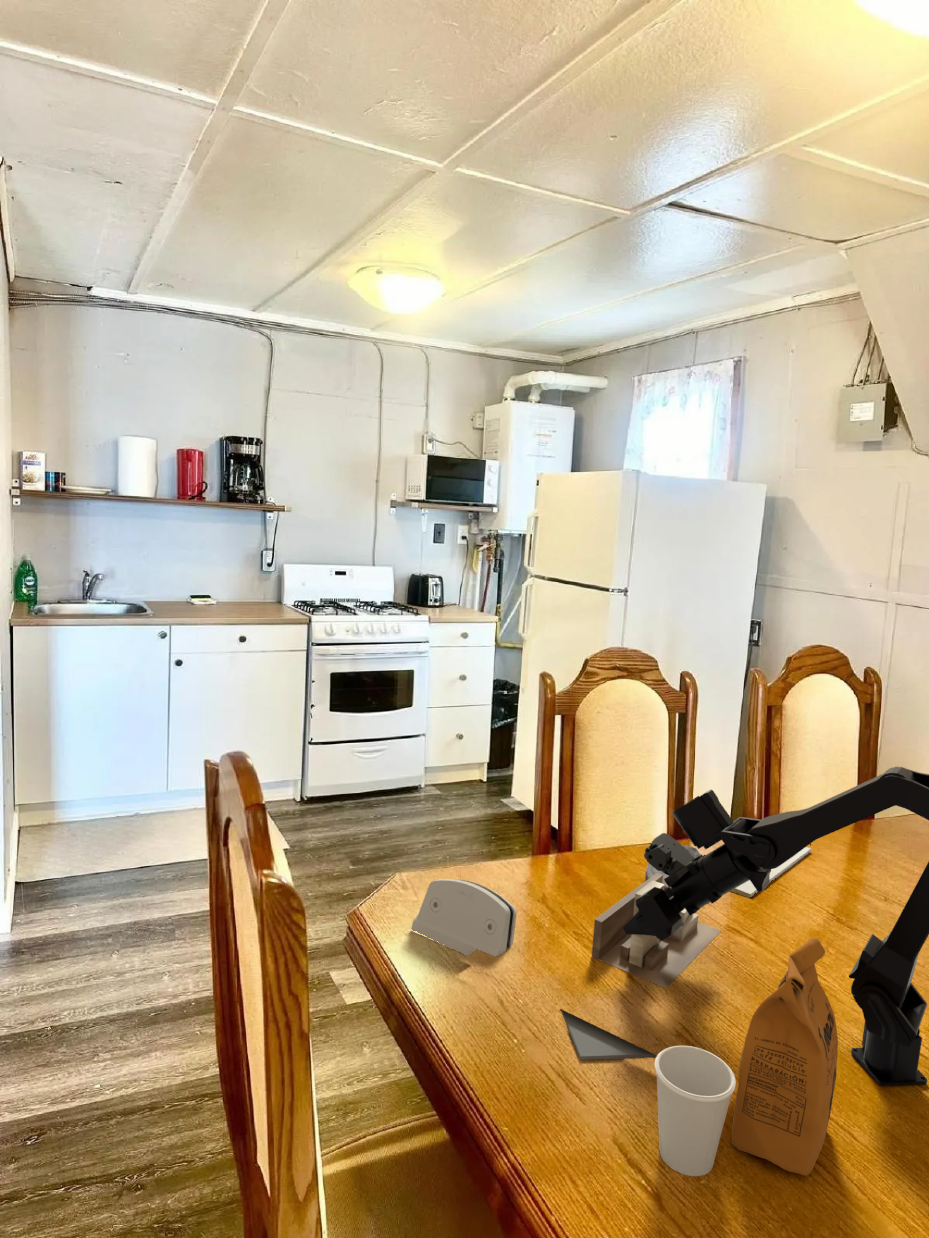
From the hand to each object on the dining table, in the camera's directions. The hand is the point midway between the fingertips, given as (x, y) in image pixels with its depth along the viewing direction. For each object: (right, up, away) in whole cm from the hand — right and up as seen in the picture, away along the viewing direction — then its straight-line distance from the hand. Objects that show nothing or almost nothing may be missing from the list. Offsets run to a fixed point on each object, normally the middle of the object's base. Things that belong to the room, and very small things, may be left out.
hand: (638, 919), depth 124 cm
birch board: (+1, -6, 0) cm, 6 cm away
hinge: (-27, -5, +5) cm, 28 cm away
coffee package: (+9, -12, -33) cm, 36 cm away
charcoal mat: (-7, -9, -15) cm, 19 cm away
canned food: (+11, -5, +26) cm, 28 cm away
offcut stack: (+8, -5, +9) cm, 13 cm away
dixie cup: (-3, -12, -36) cm, 38 cm away
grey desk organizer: (+4, -7, +4) cm, 9 cm away
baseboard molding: (+32, -4, +40) cm, 51 cm away
